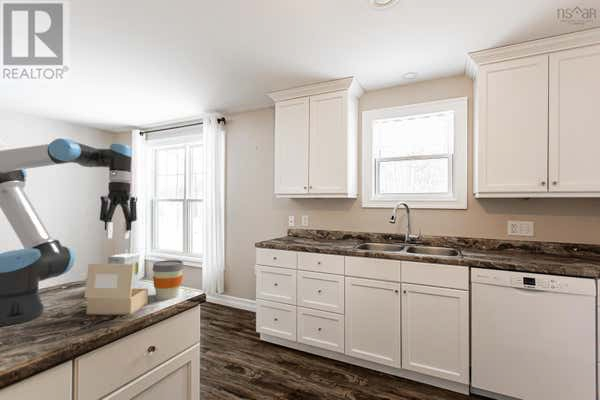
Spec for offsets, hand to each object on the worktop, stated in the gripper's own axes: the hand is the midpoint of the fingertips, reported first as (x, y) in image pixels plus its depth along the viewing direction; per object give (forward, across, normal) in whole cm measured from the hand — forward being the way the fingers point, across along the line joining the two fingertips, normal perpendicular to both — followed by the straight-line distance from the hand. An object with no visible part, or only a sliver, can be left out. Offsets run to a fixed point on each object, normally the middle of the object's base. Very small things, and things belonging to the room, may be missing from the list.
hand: (117, 238), depth 112 cm
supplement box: (+27, -8, +18) cm, 34 cm away
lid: (+15, +4, -10) cm, 18 cm away
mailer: (+27, +4, -4) cm, 27 cm away
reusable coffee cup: (+27, +16, +11) cm, 33 cm away
